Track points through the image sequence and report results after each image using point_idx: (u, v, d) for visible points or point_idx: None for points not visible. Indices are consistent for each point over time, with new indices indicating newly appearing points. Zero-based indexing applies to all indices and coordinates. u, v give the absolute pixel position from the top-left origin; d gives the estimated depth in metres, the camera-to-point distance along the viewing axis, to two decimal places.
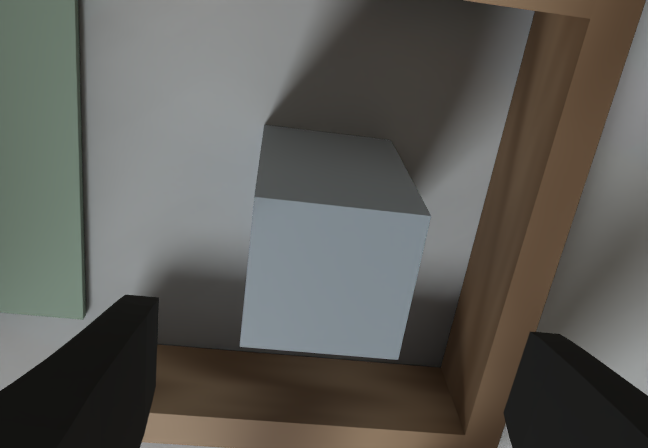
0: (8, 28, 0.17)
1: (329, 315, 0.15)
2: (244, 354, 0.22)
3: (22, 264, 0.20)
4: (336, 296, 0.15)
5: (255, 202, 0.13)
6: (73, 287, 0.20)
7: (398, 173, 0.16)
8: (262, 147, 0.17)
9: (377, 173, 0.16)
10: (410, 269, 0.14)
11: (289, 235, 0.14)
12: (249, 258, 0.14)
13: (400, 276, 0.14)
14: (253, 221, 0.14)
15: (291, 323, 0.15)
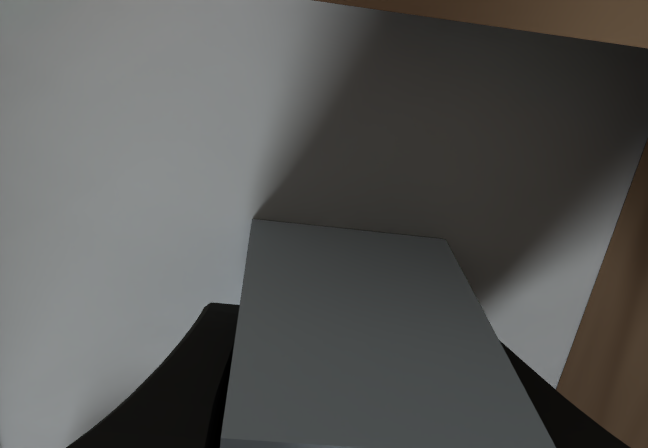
0: None
1: None
2: None
3: None
4: None
5: (223, 446, 0.07)
6: None
7: (474, 326, 0.10)
8: (246, 276, 0.10)
9: (441, 330, 0.09)
10: None
11: None
12: None
13: None
14: None
15: None
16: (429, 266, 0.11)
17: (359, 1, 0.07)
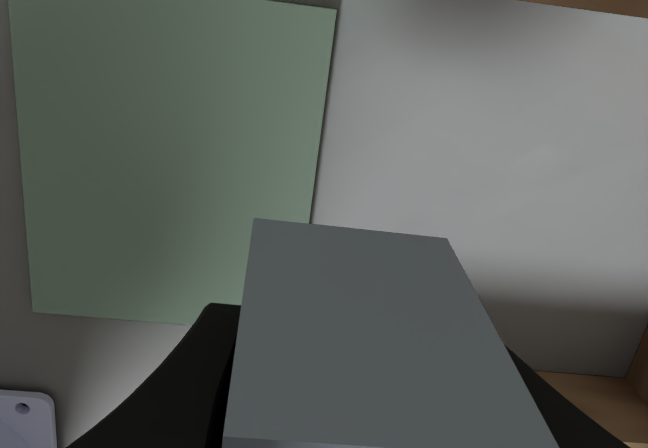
0: (267, 57, 0.18)
1: None
2: None
3: None
4: None
5: (225, 445, 0.07)
6: None
7: (476, 325, 0.10)
8: (247, 275, 0.10)
9: (443, 329, 0.09)
10: None
11: None
12: None
13: None
14: None
15: None
16: (431, 265, 0.11)
17: (625, 12, 0.14)
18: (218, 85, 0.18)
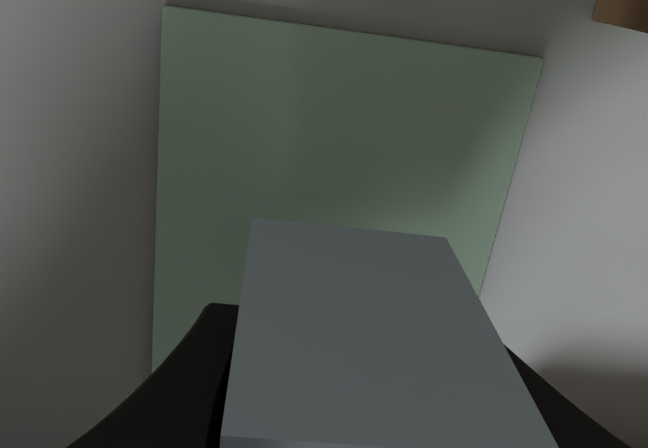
0: (456, 113, 0.15)
1: None
2: None
3: None
4: None
5: (222, 444, 0.07)
6: None
7: (475, 324, 0.10)
8: (246, 274, 0.10)
9: (442, 328, 0.09)
10: None
11: None
12: None
13: None
14: None
15: None
16: (430, 264, 0.11)
17: None
18: (395, 144, 0.15)
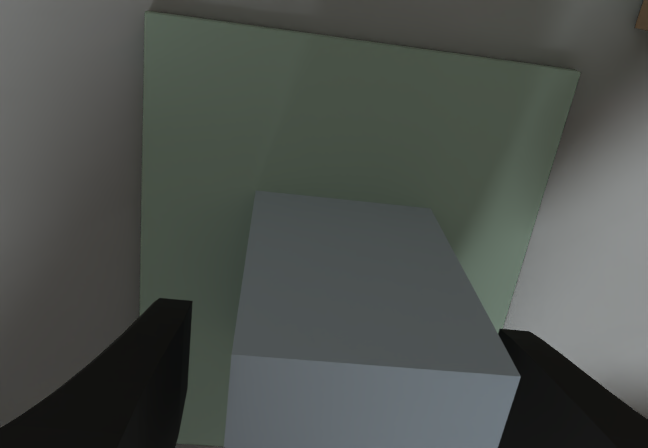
0: (479, 132, 0.13)
1: None
2: None
3: None
4: None
5: (233, 362, 0.08)
6: None
7: (452, 276, 0.11)
8: (250, 235, 0.11)
9: (422, 279, 0.11)
10: None
11: (291, 408, 0.08)
12: (226, 441, 0.09)
13: None
14: (231, 389, 0.08)
15: None
16: (415, 230, 0.13)
17: None
18: (410, 167, 0.13)
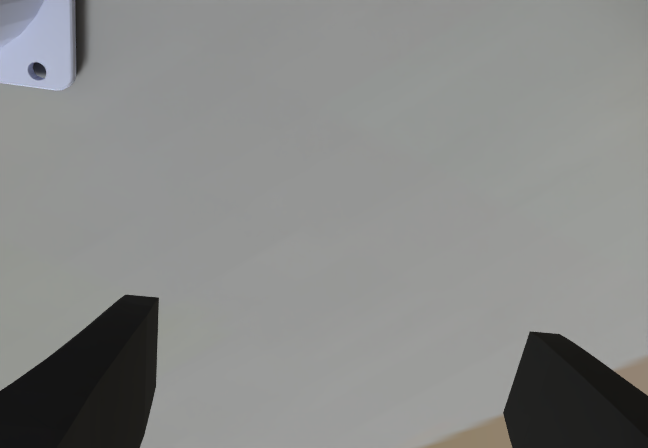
0: None
1: None
2: None
3: None
4: None
5: None
6: None
7: None
8: None
9: None
10: None
11: None
12: None
13: None
14: None
15: None
16: None
17: None
18: None
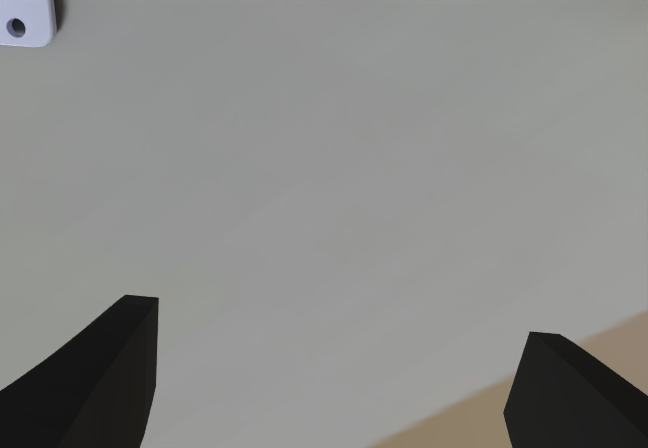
0: None
1: None
2: None
3: None
4: None
5: None
6: None
7: None
8: None
9: None
10: None
11: None
12: None
13: None
14: None
15: None
16: None
17: None
18: None
